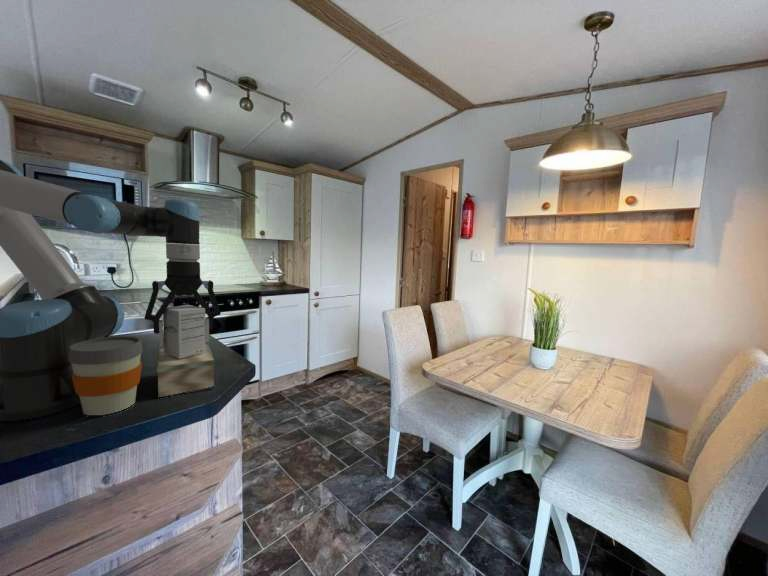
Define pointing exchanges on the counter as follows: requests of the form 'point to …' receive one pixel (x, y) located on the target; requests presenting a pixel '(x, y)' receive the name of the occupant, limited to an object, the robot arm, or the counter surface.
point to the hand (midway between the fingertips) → (185, 342)
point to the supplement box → (184, 331)
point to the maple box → (184, 372)
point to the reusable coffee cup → (106, 373)
